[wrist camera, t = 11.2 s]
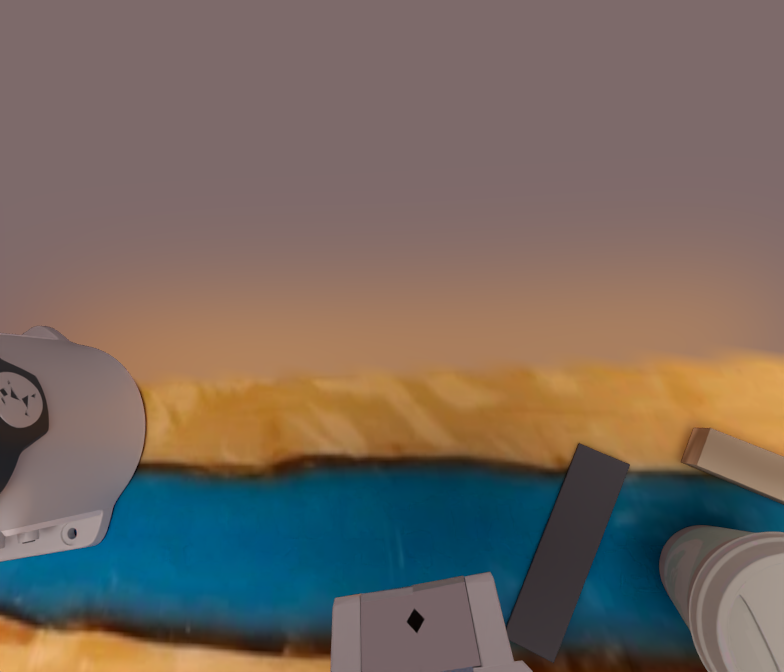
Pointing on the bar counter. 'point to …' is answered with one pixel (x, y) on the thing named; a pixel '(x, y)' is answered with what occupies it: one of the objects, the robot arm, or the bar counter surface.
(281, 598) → the bar counter surface
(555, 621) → the gutter strips
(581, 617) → the bar counter surface
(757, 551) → the coffee cup
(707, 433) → the maple block
